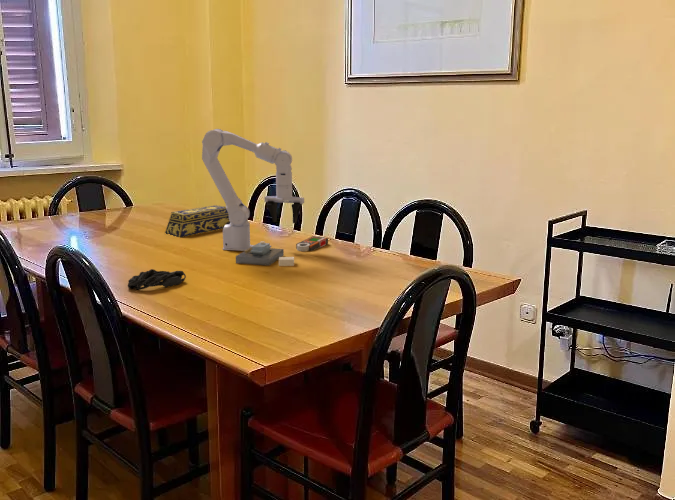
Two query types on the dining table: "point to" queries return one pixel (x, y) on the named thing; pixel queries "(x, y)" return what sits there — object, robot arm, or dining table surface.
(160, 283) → the cable
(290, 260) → the box
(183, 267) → the dining table surface
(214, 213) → the decorative box
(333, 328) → the dining table surface
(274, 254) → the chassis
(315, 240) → the electronic device
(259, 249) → the block
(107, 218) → the dining table surface
